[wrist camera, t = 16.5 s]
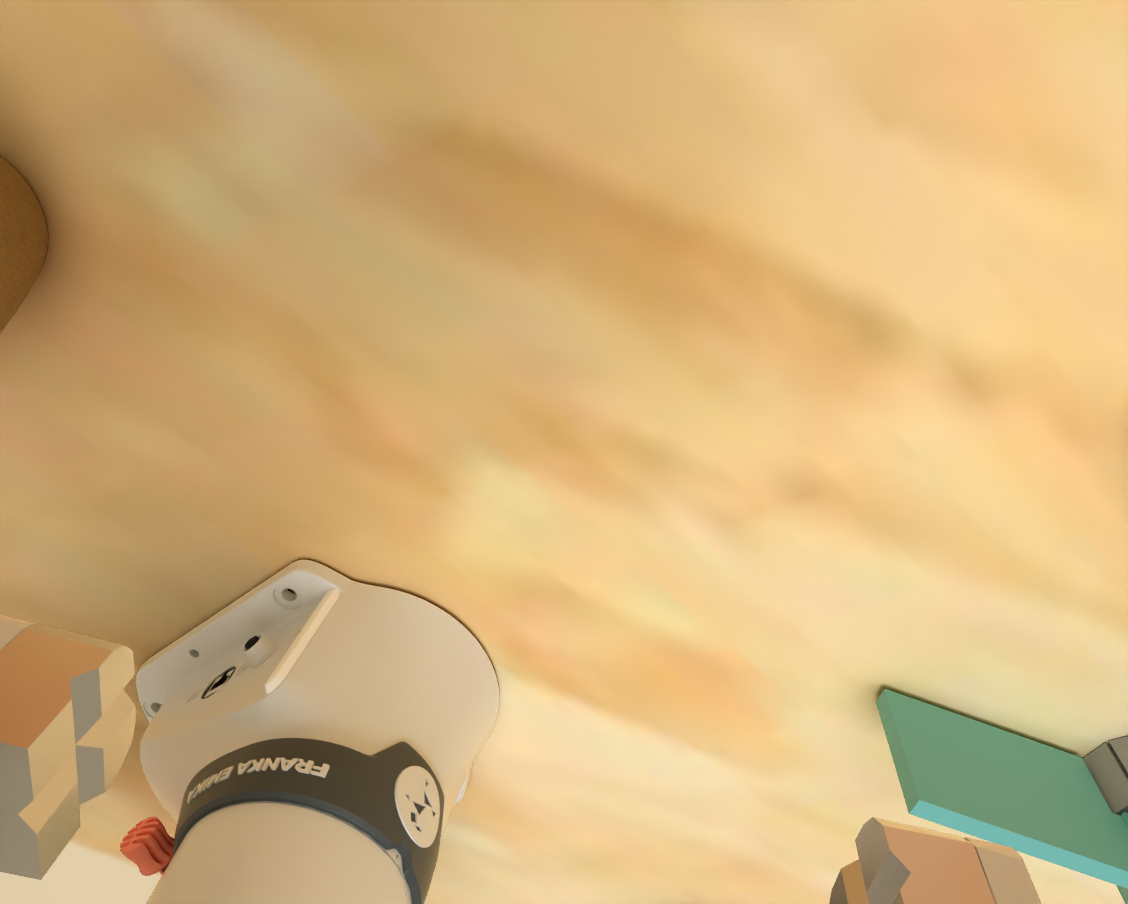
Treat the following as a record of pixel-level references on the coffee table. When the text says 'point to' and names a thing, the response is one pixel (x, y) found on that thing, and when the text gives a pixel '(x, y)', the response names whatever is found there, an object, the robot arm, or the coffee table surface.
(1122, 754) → the frame leaf
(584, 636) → the coffee table surface
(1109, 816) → the teal hinge knuckle plate
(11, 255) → the plant pot
